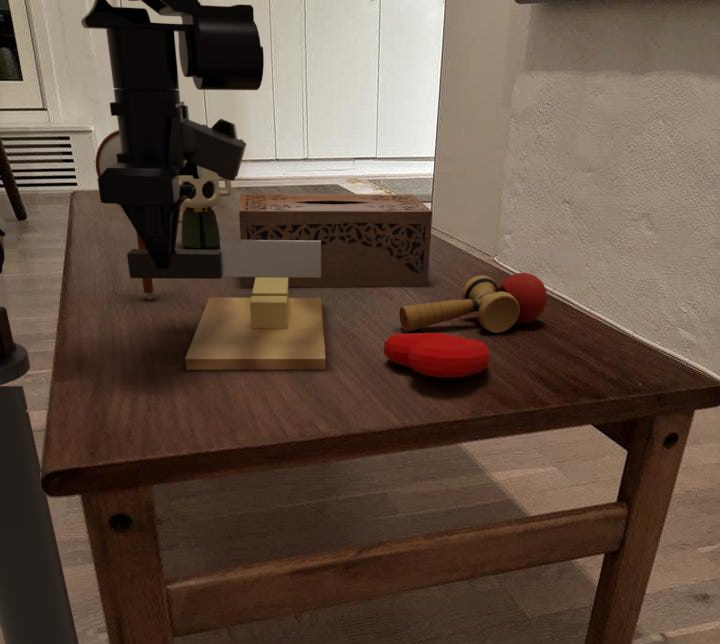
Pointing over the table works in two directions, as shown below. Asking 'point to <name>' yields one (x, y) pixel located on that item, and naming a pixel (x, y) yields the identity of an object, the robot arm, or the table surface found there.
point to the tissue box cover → (346, 235)
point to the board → (257, 338)
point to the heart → (438, 354)
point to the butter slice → (269, 312)
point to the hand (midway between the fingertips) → (165, 265)
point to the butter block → (271, 287)
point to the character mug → (202, 209)
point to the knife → (234, 260)
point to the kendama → (484, 304)
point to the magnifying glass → (104, 160)
